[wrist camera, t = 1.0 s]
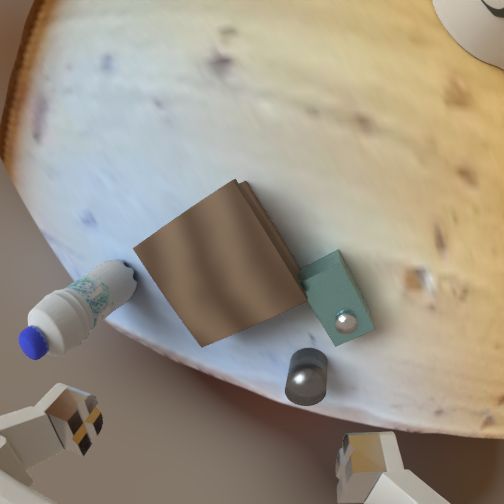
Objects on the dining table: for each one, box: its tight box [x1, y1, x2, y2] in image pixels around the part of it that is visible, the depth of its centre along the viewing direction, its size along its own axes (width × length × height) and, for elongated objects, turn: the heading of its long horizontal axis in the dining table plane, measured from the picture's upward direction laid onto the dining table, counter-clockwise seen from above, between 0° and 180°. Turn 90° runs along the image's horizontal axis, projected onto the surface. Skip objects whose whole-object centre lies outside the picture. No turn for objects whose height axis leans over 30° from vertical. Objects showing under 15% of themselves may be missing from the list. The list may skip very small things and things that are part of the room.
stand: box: [133, 179, 308, 348], centre depth 36 cm, size 14×14×6 cm
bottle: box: [19, 260, 137, 360], centre depth 34 cm, size 7×7×20 cm
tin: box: [285, 348, 327, 406], centre depth 39 cm, size 5×5×6 cm
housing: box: [298, 250, 375, 347], centre depth 35 cm, size 5×9×5 cm, turn 33°
